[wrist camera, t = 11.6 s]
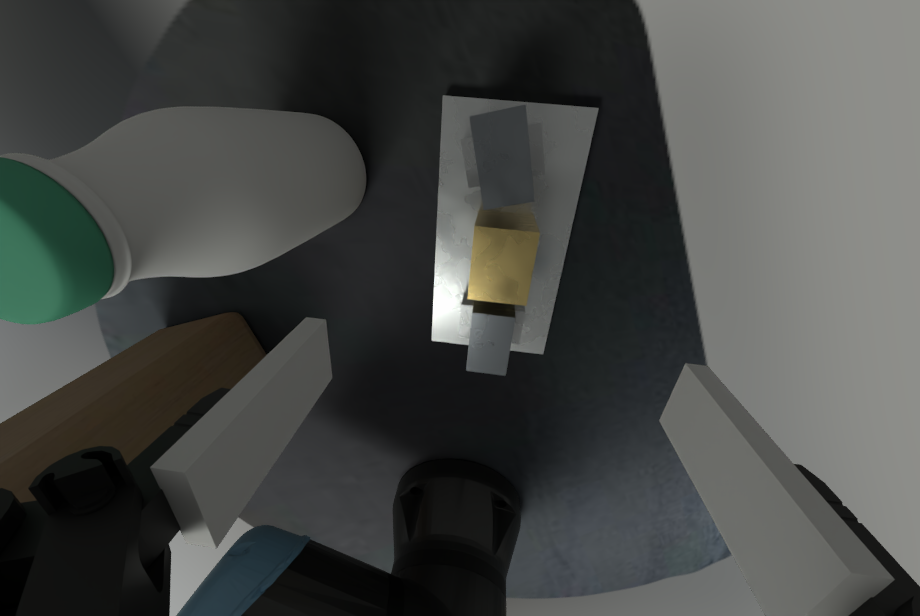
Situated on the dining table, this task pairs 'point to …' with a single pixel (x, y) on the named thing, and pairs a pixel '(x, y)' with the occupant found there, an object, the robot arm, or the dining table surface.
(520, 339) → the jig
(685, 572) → the dining table surface
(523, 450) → the dining table surface
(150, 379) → the wooden block
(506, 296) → the gold cube-like block
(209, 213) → the milk bottle
